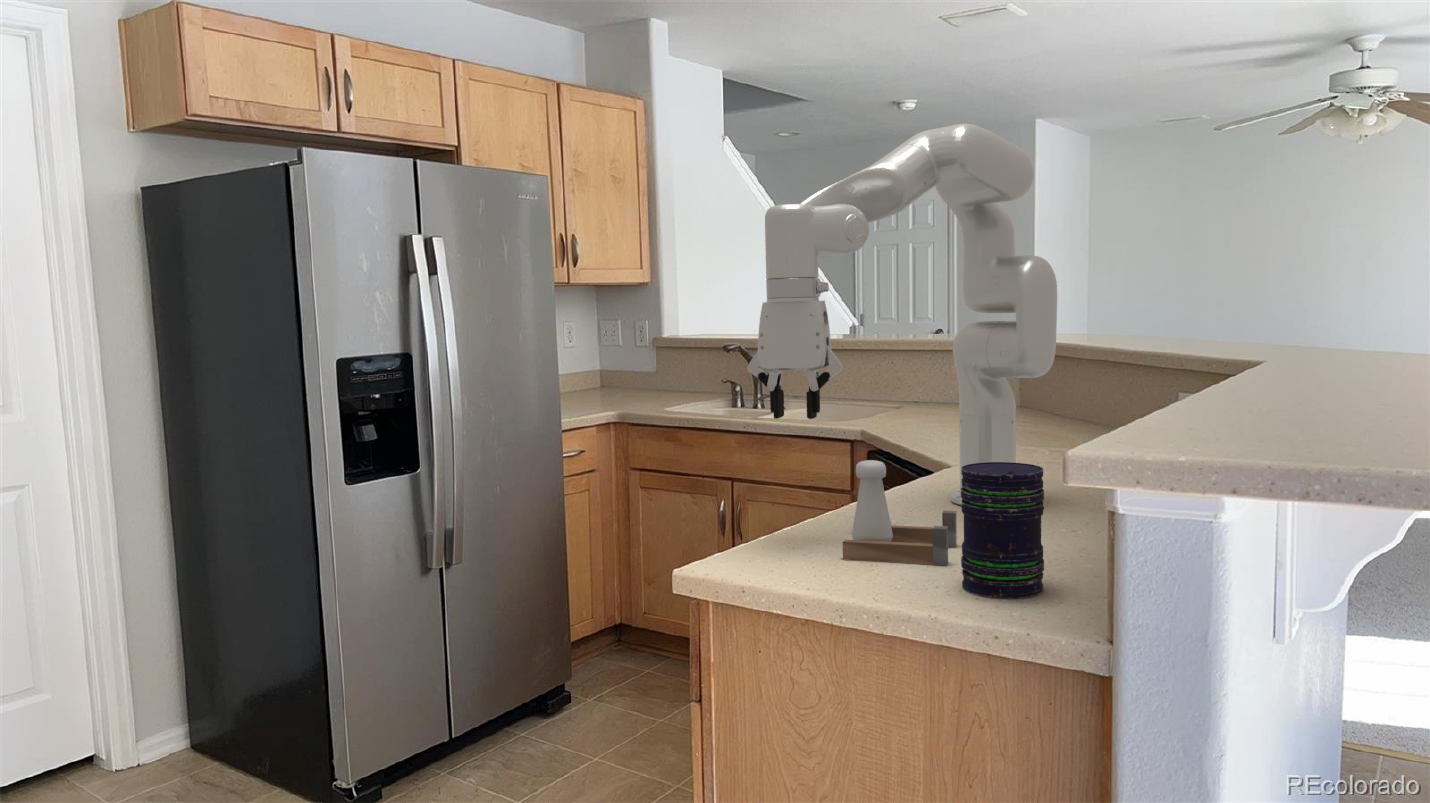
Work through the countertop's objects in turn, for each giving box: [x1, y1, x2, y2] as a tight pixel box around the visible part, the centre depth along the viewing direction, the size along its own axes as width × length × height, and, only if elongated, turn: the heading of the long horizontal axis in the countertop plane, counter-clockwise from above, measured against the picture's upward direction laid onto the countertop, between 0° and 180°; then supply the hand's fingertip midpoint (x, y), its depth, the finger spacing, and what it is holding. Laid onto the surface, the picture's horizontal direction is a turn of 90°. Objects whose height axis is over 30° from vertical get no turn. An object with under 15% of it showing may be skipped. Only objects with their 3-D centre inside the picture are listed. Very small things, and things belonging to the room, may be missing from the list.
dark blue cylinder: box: [960, 462, 1045, 600], centre depth 124 cm, size 10×10×15 cm
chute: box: [842, 510, 958, 567], centre depth 143 cm, size 12×14×5 cm
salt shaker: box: [851, 459, 893, 542], centre depth 144 cm, size 6×6×13 cm
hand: (795, 416), depth 147 cm, fingers open, 4 cm apart
